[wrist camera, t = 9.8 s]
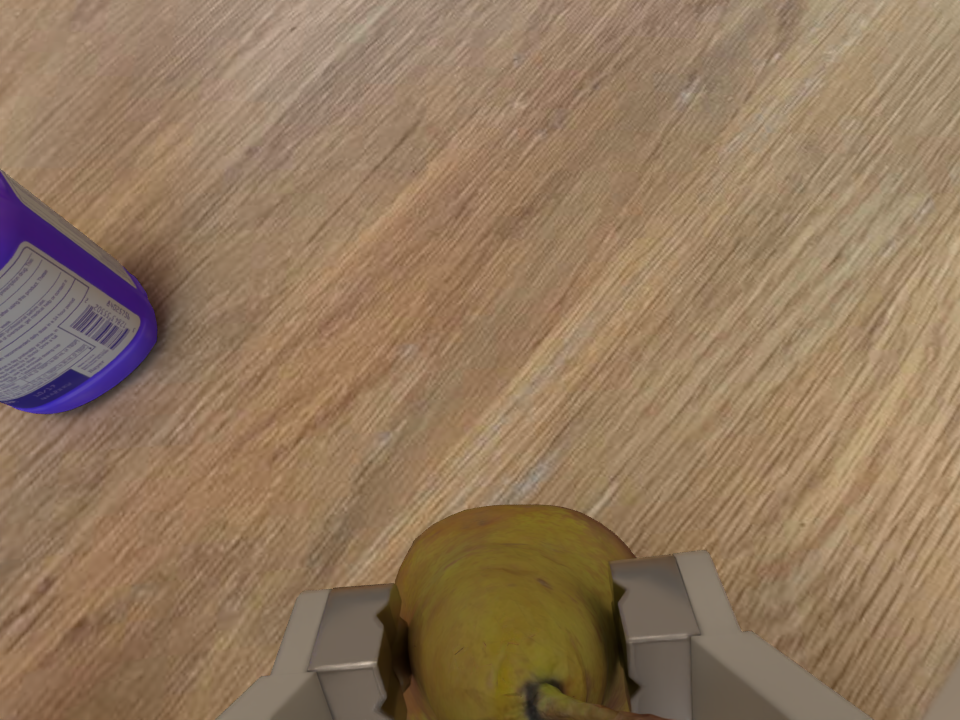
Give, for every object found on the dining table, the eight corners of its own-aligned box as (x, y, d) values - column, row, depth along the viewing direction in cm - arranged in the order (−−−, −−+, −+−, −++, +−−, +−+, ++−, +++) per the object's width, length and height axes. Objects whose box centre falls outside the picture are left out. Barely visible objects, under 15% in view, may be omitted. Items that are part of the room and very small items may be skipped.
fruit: (528, 464, 18) (471, 237, 7) (699, 641, 16) (996, 722, 5) (365, 618, 17) (4, 645, 6) (526, 823, 16) (431, 1385, 4)
